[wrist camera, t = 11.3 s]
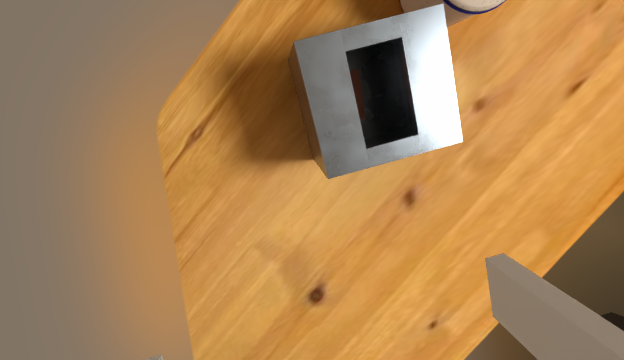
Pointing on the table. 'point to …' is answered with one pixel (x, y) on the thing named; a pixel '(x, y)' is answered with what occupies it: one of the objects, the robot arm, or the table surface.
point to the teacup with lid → (453, 7)
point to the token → (358, 92)
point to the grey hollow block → (377, 91)
